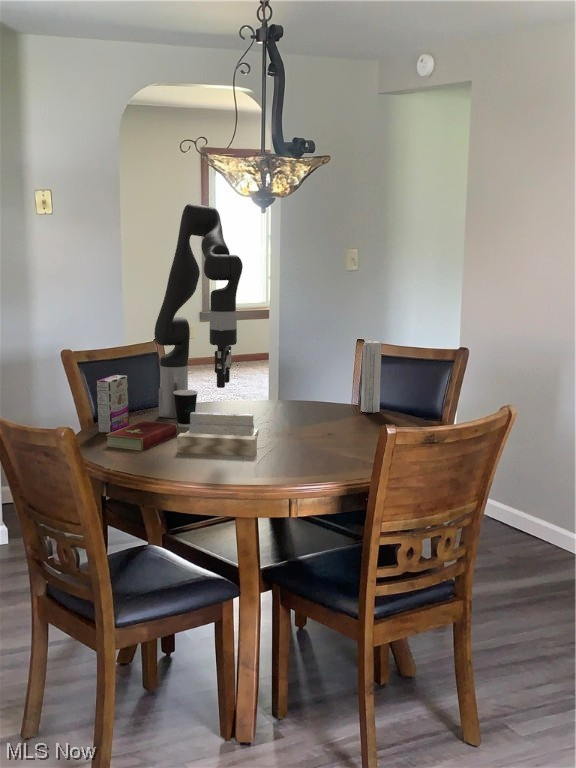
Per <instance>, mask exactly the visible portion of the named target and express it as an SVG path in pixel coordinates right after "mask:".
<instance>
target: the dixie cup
mask: <svg viewBox="0 0 576 768" xmlns="http://www.w3.org/2000/svg"><path fill="white" fill-rule="evenodd" d="M173 394H174V398H175V407H176V416H177V418H176V423H177V427H179V428H189V424H190V413H191V412H196V407H197V400H198V399H197V398H198V394H199V392H198V391H197V390H193V389H188V390H177V391H174V392H173Z"/></svg>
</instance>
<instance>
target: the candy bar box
mask: <svg viewBox="0 0 576 768" xmlns="http://www.w3.org/2000/svg"><path fill="white" fill-rule="evenodd" d="M128 380H129V379H128V375H123V374H120V375H119V374H114V375H111V376H107V377H105V378H102V379H98V380H96V402H97V403H96V404H97V421H98V422H97V423H98V426H97V427H98V429H97V430H98V432H99V433H101V434H102V433H104V434H109V433H112V432H114V431H117V430H119V429H122V428H125V427H127V426H130V415H129V411H130V410H129V382H128Z"/></svg>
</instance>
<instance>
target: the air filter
mask: <svg viewBox="0 0 576 768" xmlns="http://www.w3.org/2000/svg"><path fill="white" fill-rule="evenodd" d="M361 363H362V364H361V393H360V395H361V396H360V397H361V398H360V412H361V411H362V412H373V413H375V412H379V413H380V399H381V398H380V397H381V375H382V374H381V373H382V372H381V371H382V370H381V369H382V343H381V341H378V340H377V341H374V340H366V341H364V343H363V344H362V362H361ZM362 412H361V413H362Z"/></svg>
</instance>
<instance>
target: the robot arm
mask: <svg viewBox="0 0 576 768" xmlns="http://www.w3.org/2000/svg"><path fill="white" fill-rule="evenodd" d="M181 214H182V215H181V220H180V225H179V231H178V238H177V243H176V247H175V248H176V249H175V253H174V256H173V260H172V264H171V268H170V271H169V275H168V276H169V277H168V281H167V285H166V290H165V294H164V299H163V302H162V305H161V307H160V310H159V313H158V316H157V319H156V322H155V325H154V326H155V327H154V334H153V335H154V339H155V342H156V343H157V344H158V345H159V346H164V347H165V346H166V347H167V346H174V348H173V349H172V350H170V351H169V352H167V353H166V354H164V355H162V356H160V359H159V378H160V380H159V383H160V384H159V386H160V387H159V388H158V417H159V418H160V417H162V418H165V419H166V418H168V419H177V416H176V407H175V398H174V394H173V392H174V391H177V390H189V384H188V383H189V381H188V380H189V369H188V368H189V367H188V365H189V363H188V362H189V358H190V357H189V355H190V340H191V339H190V337H191V336H190V335H191V333H190V331H191V330H190V329H191V328H190V324H189V322H188V319H187V318H186V317H181V316H178V317H176V314H177V312H178V311H179V310H180V309H181V308H182V307H183V306H184V305H185V304H186V303H187V302H188V301H189V300H190V299H191V298H192V296H193V295H194V294H195V292H196V290H197V286H198V283H199V279H200V274H201V273H200V272H201V271H200V266H199V264H198V261H197V260H196V257H195V255H194V253H193V250H192V247H191V244H190V243H191V242H190V240H191V236H195V237H196V236H197V237H202V240H201V245H200V246H201V251H202V254H203V257H204V262H203V263H204V265H203V272H204V276H205V277H206V279H208V280H210V281H228V282H227V284H226V285H225V286H224V287H222V288H218V289H213V290H212V291H211V292H210V295H209V298H210V300H209V301H210V307H209V308H210V310H209V311H210V314H209V344H210V345H211V346H216V347H217V349H216V350H214V373H215V375H216V388H217V389H223V388H225V387H226V384H228V383H230V381H231V379H230V377H231V375H230V374H231V373H230V371H231V367H232V364H233V363H232V346H235V345H237V343H238V341H237V340H238V338H237V337H238V336H237V334H238V333H237V332H238V329H237V328H238V327H237V325H238V322H237V321H238V319H237V311H236V310H237V291H238V286H239V283H240V279H241V277H242V276H241V275H242V272H243V269H244V268H243V267H244V265H243V261H242V260H241V258H240V257H239V256H238V255H236V254H230V250H229V248H228V246H227V243H226V242H225V239H224V233H223V227H222V220H221V217H220V216H221V215H220V213H219V211H218V209H217V208H216V207H213V206H210V205H209V206H208V205H201V204H194V203H188V204H186V205H185V207H184V208H183V210H182V213H181Z"/></svg>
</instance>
